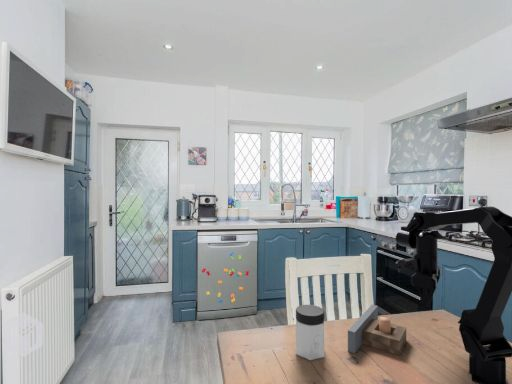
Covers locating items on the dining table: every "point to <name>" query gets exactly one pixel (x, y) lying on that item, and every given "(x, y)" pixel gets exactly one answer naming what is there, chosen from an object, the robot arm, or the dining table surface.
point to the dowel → (385, 325)
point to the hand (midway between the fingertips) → (426, 302)
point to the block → (385, 337)
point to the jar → (310, 331)
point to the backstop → (360, 328)
